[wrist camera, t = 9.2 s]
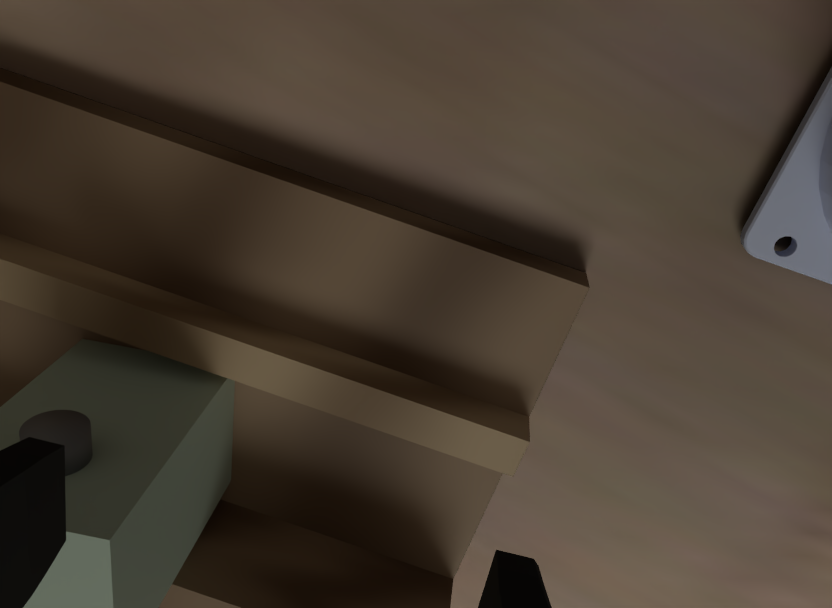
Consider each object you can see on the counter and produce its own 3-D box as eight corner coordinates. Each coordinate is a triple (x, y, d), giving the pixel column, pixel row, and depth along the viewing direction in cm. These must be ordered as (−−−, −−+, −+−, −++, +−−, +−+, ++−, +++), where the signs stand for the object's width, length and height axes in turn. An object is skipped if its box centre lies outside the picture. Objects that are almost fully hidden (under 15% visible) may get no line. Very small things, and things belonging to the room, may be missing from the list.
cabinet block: (235, 342, 20) (107, 508, 14) (230, 480, 22) (117, 680, 16) (81, 313, 21) (-114, 463, 14) (89, 452, 23) (-78, 638, 16)
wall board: (586, 273, 19) (604, 352, 15) (440, 588, 24) (425, 710, 20) (-141, 18, 19) (-322, 29, 15) (-135, 390, 24) (-268, 475, 20)
